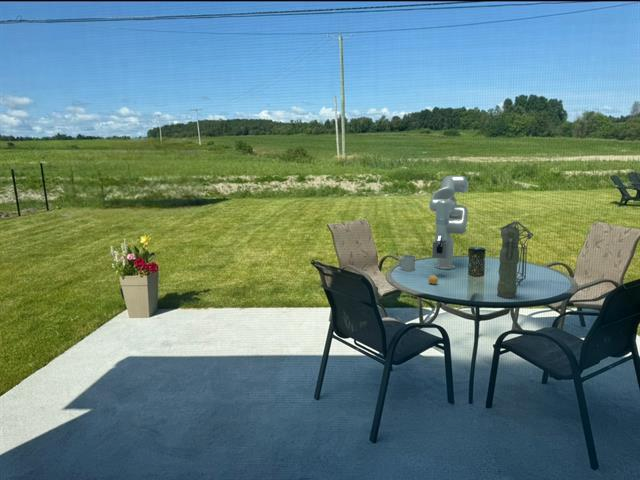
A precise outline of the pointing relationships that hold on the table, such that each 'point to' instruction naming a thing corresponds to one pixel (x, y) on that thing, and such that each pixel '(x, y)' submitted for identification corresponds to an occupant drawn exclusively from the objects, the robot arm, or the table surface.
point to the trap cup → (444, 250)
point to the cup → (407, 262)
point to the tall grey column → (508, 263)
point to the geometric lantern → (518, 247)
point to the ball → (433, 279)
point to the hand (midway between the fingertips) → (440, 251)
